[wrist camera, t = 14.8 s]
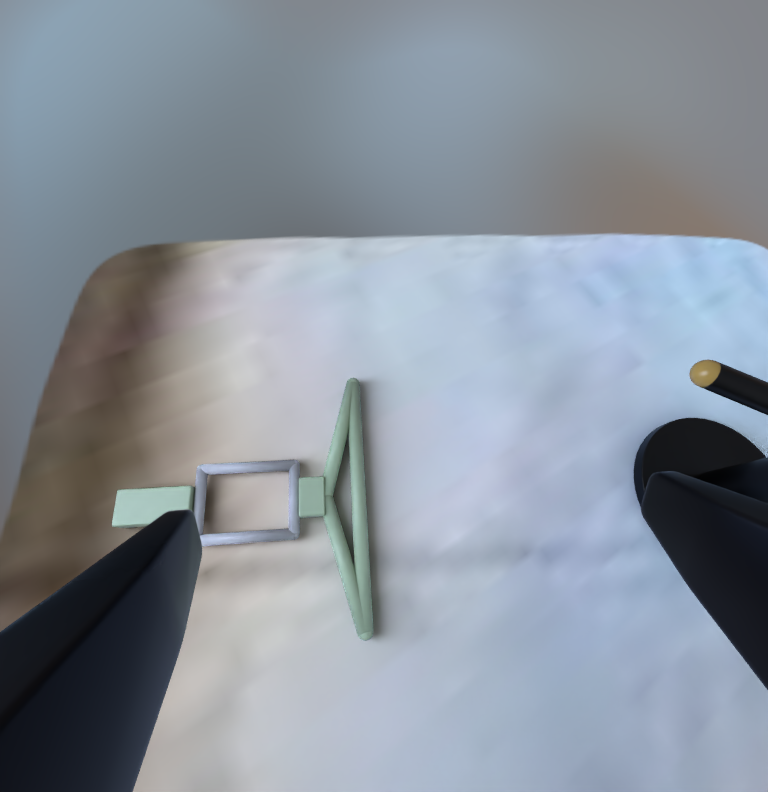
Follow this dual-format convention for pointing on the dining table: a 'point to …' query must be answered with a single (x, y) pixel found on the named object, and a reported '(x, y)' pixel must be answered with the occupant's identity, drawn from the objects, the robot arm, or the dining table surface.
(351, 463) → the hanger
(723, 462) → the black holder stand
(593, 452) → the dining table surface
